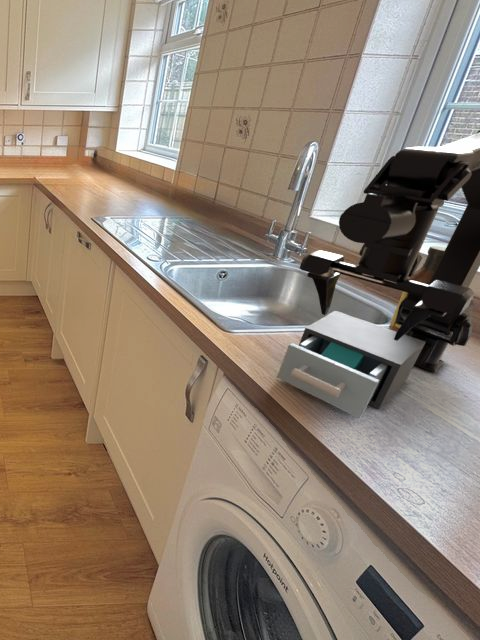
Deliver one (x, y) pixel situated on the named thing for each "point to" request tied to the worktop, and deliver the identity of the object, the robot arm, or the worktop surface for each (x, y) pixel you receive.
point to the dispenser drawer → (332, 376)
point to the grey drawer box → (370, 347)
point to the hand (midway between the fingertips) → (358, 326)
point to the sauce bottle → (421, 277)
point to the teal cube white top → (343, 356)
